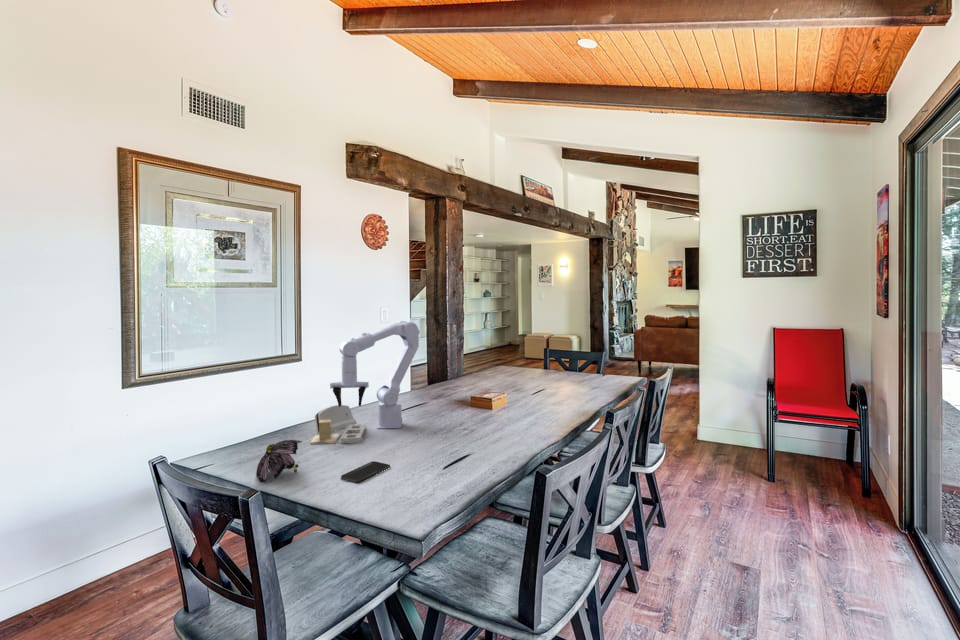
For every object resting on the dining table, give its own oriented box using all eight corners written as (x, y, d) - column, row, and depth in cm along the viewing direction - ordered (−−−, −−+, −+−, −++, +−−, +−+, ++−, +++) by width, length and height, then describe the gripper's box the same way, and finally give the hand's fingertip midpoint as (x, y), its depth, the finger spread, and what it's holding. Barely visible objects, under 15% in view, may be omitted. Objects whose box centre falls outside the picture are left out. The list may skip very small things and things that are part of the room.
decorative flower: (258, 438, 157) (302, 424, 156) (273, 467, 161) (317, 454, 160) (239, 466, 143) (288, 451, 143) (257, 497, 147) (305, 483, 147)
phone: (339, 476, 148) (372, 460, 161) (339, 480, 148) (372, 464, 161) (359, 481, 144) (391, 464, 158) (359, 485, 145) (392, 468, 158)
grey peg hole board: (365, 429, 200) (365, 423, 200) (360, 443, 182) (360, 437, 182) (348, 429, 199) (348, 424, 199) (340, 443, 181) (340, 438, 181)
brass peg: (330, 439, 184) (330, 422, 184) (319, 439, 183) (318, 422, 183) (331, 436, 188) (331, 419, 188) (320, 436, 187) (319, 419, 187)
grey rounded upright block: (324, 434, 193) (318, 409, 195) (317, 436, 196) (311, 411, 197) (357, 424, 207) (351, 400, 208) (350, 426, 210) (344, 403, 211)
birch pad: (339, 435, 191) (339, 433, 191) (335, 443, 182) (335, 441, 182) (315, 436, 190) (315, 434, 190) (310, 444, 181) (310, 442, 181)
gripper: (369, 369, 199) (369, 403, 200) (332, 370, 198) (332, 404, 199) (367, 372, 192) (367, 407, 193) (328, 373, 191) (329, 408, 192)
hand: (350, 405), depth 196 cm, fingers open, 7 cm apart
